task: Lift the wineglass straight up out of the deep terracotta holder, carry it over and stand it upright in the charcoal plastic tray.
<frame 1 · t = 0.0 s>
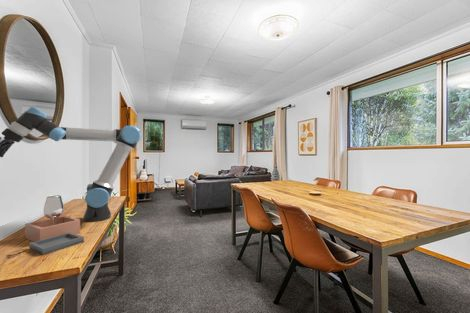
holder: (53, 235, 106), on the table
wineglass: (53, 235, 106), resting in holder
tray: (57, 245, 94), on the table
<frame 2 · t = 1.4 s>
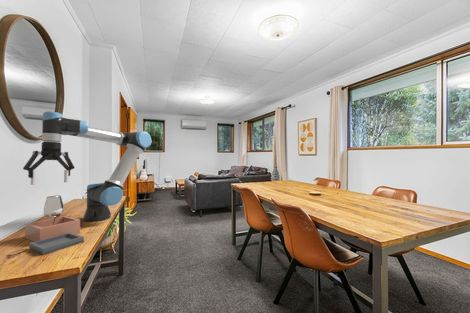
hand: (50, 183, 106), 27 cm above the table, tool pointing down, fingers open, 13 cm apart
nothing on the table moved.
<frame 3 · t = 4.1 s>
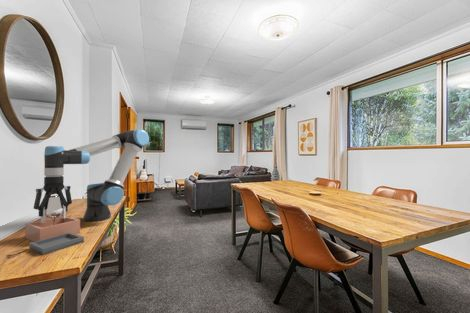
hand: (53, 220, 106), 8 cm above the table, tool pointing down, fingers closed on wineglass, 8 cm apart
wineglass: (53, 235, 106), resting in holder, touching gripper
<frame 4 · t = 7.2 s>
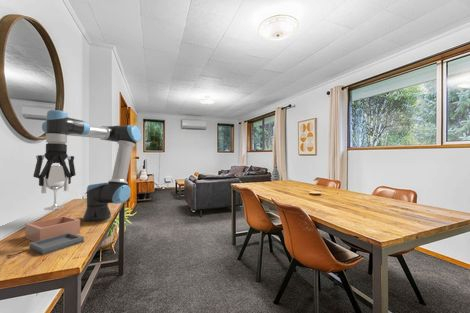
hand: (55, 191, 97), 24 cm above the table, tool pointing down, fingers closed on wineglass, 8 cm apart
wineglass: (54, 208, 97), point 16 cm above the table, touching gripper
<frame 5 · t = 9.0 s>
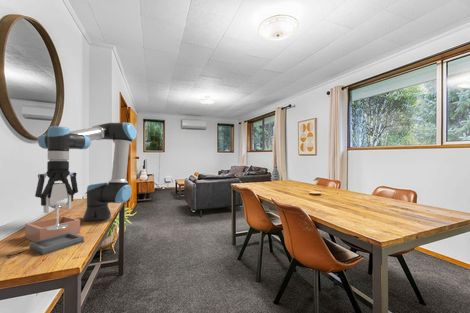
hand: (57, 210, 94), 16 cm above the table, tool pointing down, fingers closed on wineglass, 8 cm apart
wineglass: (57, 228, 94), point 8 cm above the table, touching gripper
when the fingers open (10 cm above the table, at t = 10.5 s): wineglass drops 1 cm, resting on tray.
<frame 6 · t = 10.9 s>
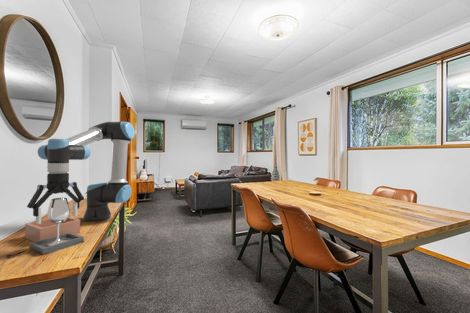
hand: (57, 219, 94), 12 cm above the table, tool pointing down, fingers open, 13 cm apart
wineglass: (57, 243, 94), point 1 cm above the table, touching tray
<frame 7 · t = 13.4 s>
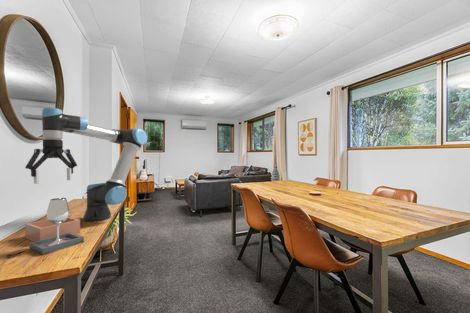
hand: (53, 181, 104), 28 cm above the table, tool pointing down, fingers open, 13 cm apart
nothing on the table moved.
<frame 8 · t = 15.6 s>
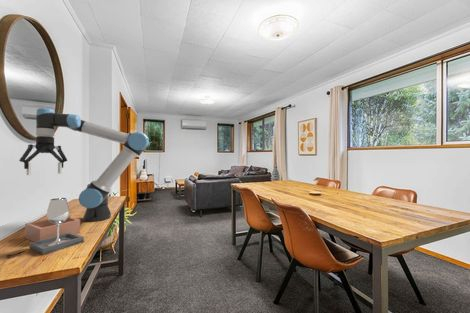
hand: (44, 174, 116), 31 cm above the table, tool pointing down, fingers open, 13 cm apart
nothing on the table moved.
at the end: wineglass inside the target area on the tray (0.1 cm from its centre), point 0.8 cm above the tray's base; wineglass tilted 0°; the gripper is holding nothing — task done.
